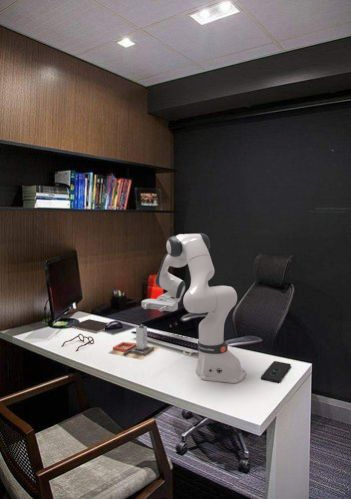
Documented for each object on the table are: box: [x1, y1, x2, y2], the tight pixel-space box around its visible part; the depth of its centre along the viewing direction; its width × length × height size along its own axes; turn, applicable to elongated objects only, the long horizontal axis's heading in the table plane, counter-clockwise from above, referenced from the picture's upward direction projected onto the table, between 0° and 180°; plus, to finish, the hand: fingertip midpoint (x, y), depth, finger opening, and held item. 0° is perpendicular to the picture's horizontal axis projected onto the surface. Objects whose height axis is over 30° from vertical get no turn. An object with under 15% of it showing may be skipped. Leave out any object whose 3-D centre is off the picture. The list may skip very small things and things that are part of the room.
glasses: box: [61, 333, 95, 353], centre depth 203 cm, size 13×13×5 cm
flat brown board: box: [107, 341, 161, 361], centre depth 190 cm, size 21×18×3 cm
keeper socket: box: [112, 341, 136, 352], centre depth 193 cm, size 9×9×2 cm
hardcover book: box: [70, 318, 108, 334], centre depth 237 cm, size 16×23×2 cm
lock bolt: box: [135, 324, 148, 352], centre depth 187 cm, size 4×4×14 cm
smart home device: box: [260, 360, 292, 384], centre depth 164 cm, size 8×2×20 cm
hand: (152, 308), depth 196 cm, fingers open, 8 cm apart
